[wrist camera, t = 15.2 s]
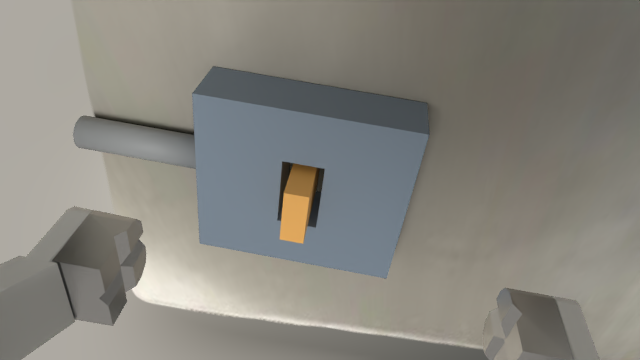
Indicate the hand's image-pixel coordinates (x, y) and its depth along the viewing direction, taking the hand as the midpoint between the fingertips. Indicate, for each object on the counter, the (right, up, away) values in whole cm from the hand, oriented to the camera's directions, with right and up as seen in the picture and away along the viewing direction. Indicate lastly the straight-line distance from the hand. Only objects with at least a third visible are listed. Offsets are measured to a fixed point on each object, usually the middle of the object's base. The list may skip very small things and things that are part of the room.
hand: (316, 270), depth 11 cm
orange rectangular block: (-1, +4, +34) cm, 34 cm away
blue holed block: (-7, +5, +34) cm, 35 cm away
